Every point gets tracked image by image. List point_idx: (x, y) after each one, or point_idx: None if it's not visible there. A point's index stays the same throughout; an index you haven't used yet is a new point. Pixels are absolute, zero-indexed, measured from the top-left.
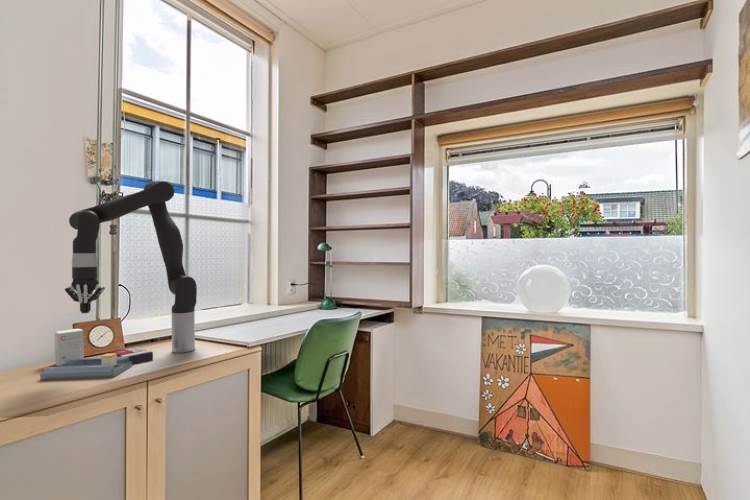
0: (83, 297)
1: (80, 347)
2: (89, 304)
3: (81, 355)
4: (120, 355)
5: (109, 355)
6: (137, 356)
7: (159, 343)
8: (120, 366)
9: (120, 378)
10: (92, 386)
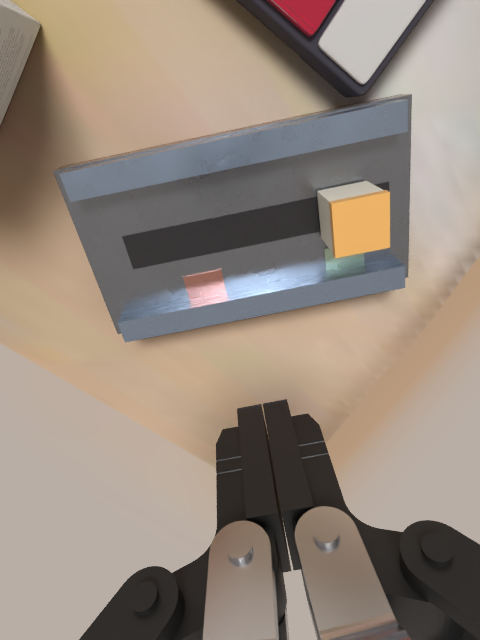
0: (241, 637)
1: None
2: (332, 498)
3: (17, 29)
4: (312, 34)
5: (373, 241)
6: (419, 15)
7: None
8: (397, 202)
9: (431, 277)
10: (375, 358)
